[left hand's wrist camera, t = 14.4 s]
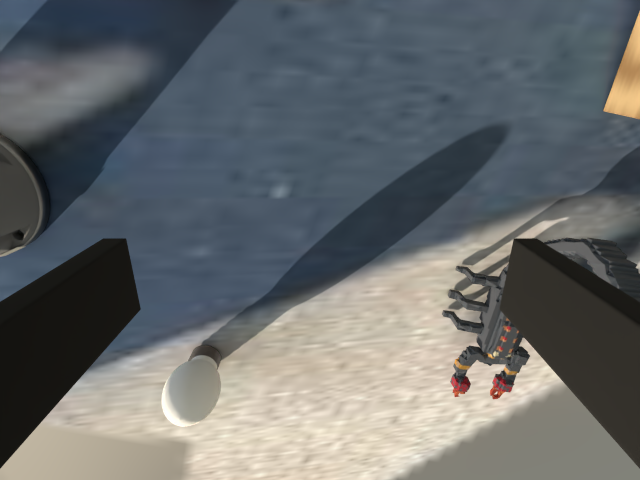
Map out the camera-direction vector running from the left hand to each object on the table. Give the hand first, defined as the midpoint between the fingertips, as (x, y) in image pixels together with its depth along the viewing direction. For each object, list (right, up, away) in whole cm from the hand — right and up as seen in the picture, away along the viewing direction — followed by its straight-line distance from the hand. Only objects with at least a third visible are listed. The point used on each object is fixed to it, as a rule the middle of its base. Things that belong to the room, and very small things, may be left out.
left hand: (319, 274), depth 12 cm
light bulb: (-16, -15, +39) cm, 45 cm away
